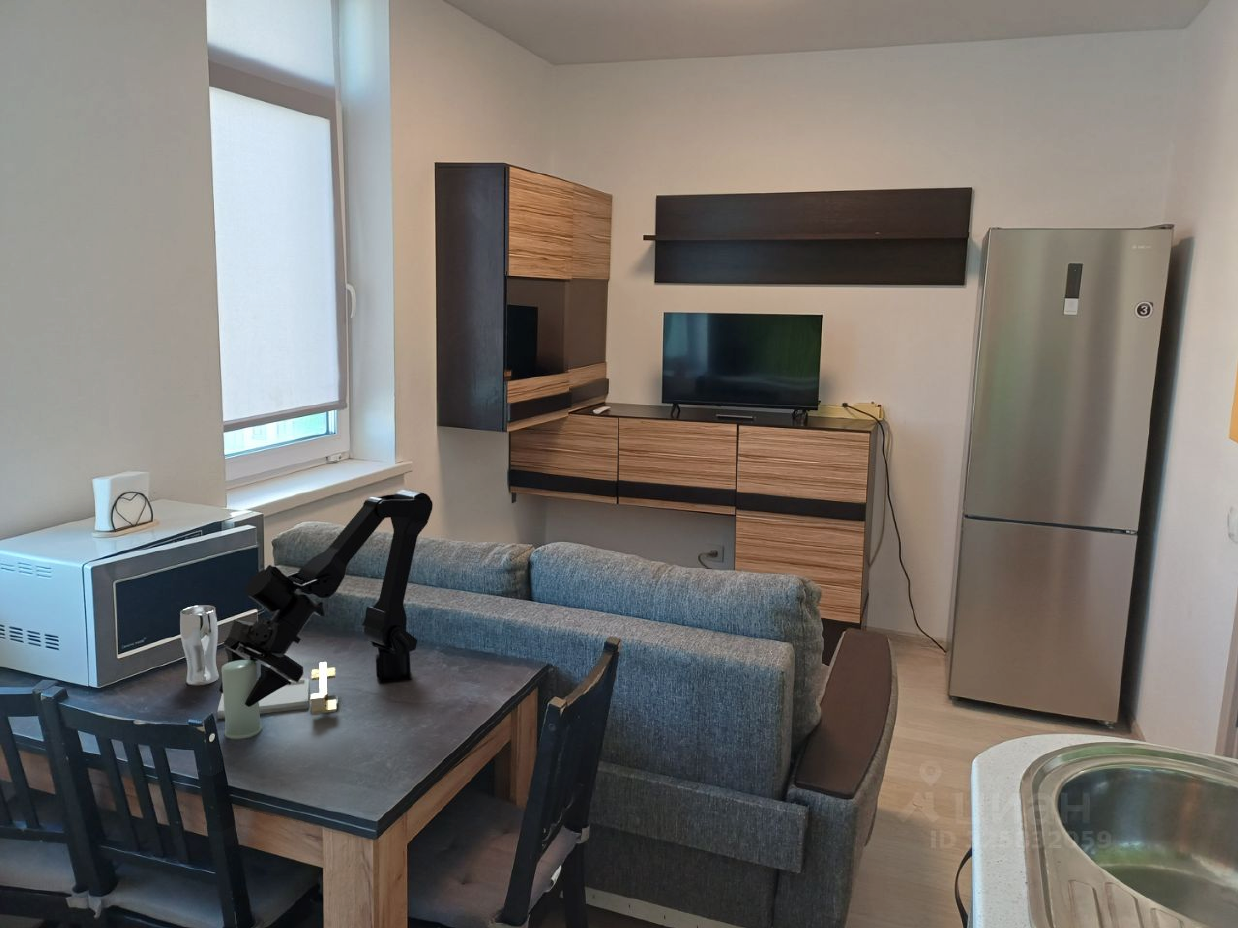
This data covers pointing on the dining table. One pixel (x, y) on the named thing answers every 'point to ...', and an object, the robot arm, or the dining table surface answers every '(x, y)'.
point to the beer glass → (200, 643)
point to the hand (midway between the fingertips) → (233, 698)
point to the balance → (323, 691)
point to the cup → (240, 699)
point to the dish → (280, 699)
